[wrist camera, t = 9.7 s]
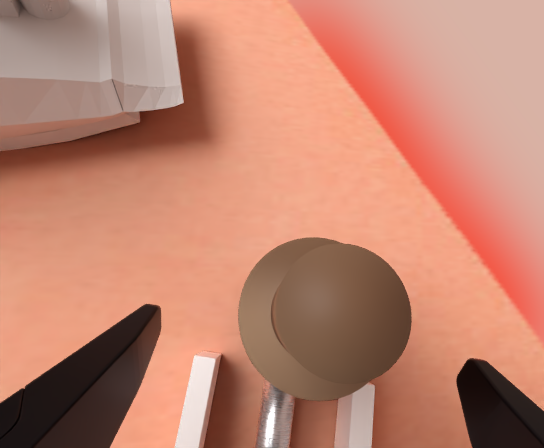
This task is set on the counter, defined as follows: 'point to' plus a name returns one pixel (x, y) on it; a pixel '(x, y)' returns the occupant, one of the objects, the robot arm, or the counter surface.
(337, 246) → the walnut skittle
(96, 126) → the iron
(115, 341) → the robot arm
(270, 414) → the rod
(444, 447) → the counter surface
